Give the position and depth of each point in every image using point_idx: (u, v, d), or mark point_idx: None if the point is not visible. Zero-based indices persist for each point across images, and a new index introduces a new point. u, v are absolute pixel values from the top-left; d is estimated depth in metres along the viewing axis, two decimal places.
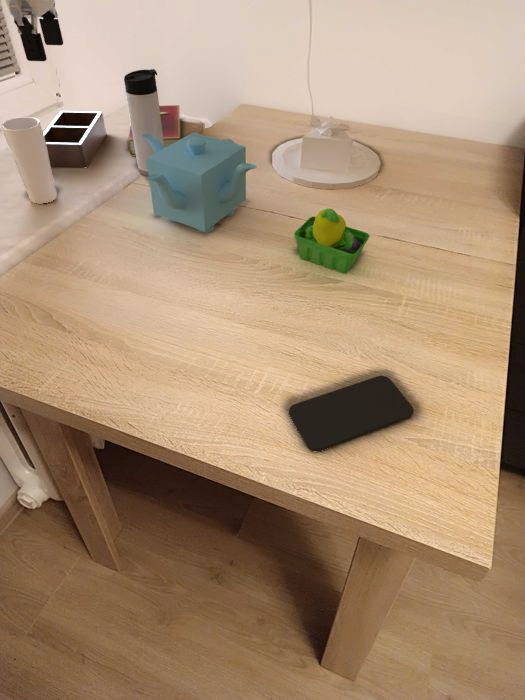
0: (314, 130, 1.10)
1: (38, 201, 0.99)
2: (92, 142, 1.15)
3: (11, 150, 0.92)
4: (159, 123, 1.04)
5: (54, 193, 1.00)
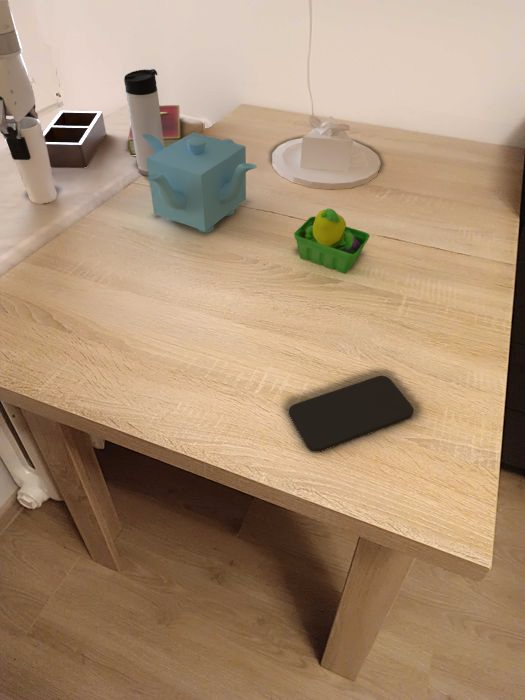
0: (314, 130, 1.10)
1: (38, 201, 0.99)
2: (92, 142, 1.15)
3: None
4: (159, 123, 1.04)
5: (54, 193, 1.00)
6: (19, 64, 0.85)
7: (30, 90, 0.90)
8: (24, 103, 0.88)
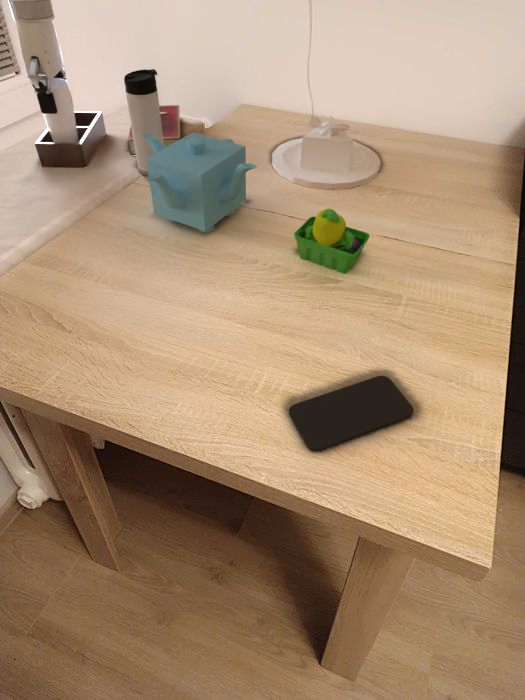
0: (314, 130, 1.10)
1: None
2: (92, 142, 1.15)
3: None
4: (159, 123, 1.04)
5: None
6: (51, 29, 0.98)
7: (60, 53, 1.03)
8: (55, 64, 1.01)
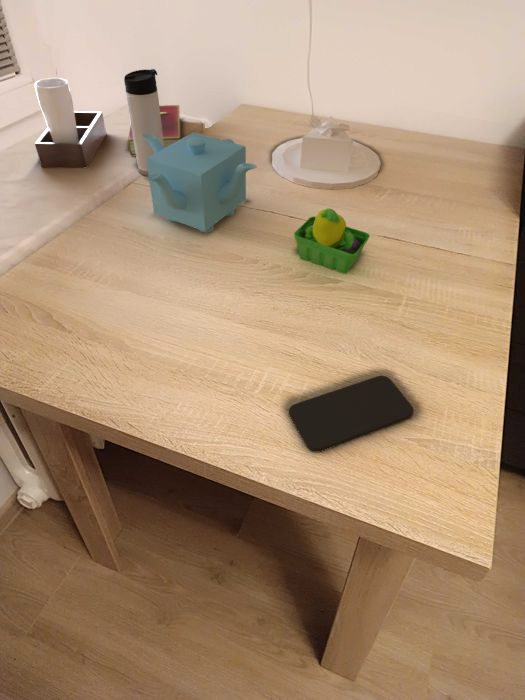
0: (314, 130, 1.10)
1: None
2: (92, 142, 1.15)
3: (43, 106, 1.05)
4: (159, 123, 1.04)
5: None
6: None
7: None
8: None
